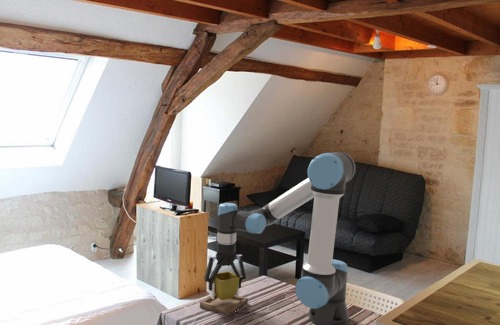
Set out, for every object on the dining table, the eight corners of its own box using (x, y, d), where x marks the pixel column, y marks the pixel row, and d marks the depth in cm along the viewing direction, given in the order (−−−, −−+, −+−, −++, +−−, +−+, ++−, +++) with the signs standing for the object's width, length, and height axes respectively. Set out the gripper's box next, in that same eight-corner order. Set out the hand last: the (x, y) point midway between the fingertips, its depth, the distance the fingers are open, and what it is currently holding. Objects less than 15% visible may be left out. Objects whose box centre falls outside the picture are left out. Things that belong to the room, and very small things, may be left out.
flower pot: (219, 303, 181) (220, 280, 180) (209, 295, 188) (210, 273, 187) (239, 299, 186) (240, 277, 185) (228, 292, 193) (229, 271, 192)
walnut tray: (247, 303, 190) (247, 298, 190) (230, 315, 178) (230, 310, 178) (218, 296, 197) (218, 291, 197) (199, 307, 184) (199, 302, 184)
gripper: (250, 238, 192) (248, 291, 194) (197, 240, 185) (195, 295, 187) (255, 243, 184) (253, 298, 187) (201, 246, 178) (199, 302, 180)
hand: (224, 297), depth 187 cm, fingers closed on flower pot, 9 cm apart
